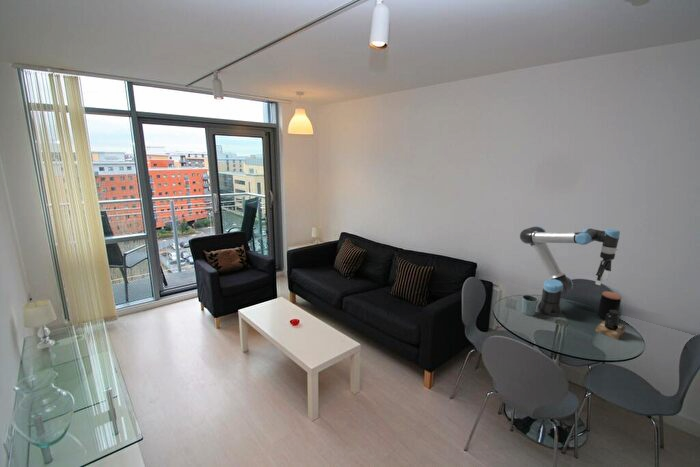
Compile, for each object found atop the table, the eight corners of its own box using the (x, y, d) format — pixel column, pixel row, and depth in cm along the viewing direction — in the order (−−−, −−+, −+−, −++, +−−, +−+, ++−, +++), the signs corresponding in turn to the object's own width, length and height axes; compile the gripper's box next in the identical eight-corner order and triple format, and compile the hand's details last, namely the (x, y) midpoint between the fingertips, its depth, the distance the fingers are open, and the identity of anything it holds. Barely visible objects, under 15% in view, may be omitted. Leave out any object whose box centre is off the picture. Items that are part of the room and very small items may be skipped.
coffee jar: (616, 323, 220) (622, 299, 215) (596, 318, 226) (602, 295, 221) (615, 316, 228) (621, 294, 223) (597, 312, 234) (602, 289, 229)
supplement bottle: (604, 323, 214) (607, 307, 211) (617, 326, 210) (621, 310, 206) (603, 328, 209) (607, 312, 206) (617, 331, 205) (620, 315, 201)
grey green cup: (538, 316, 230) (541, 301, 226) (524, 316, 230) (526, 301, 227) (531, 309, 240) (533, 294, 236) (517, 309, 240) (519, 294, 236)
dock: (595, 331, 212) (596, 324, 210) (602, 324, 219) (603, 317, 218) (617, 339, 202) (619, 332, 201) (624, 332, 210) (625, 325, 208)
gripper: (608, 258, 201) (601, 288, 207) (621, 249, 216) (614, 279, 221) (594, 254, 207) (588, 285, 213) (607, 247, 221) (601, 275, 227)
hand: (601, 282), depth 217 cm, fingers open, 13 cm apart
